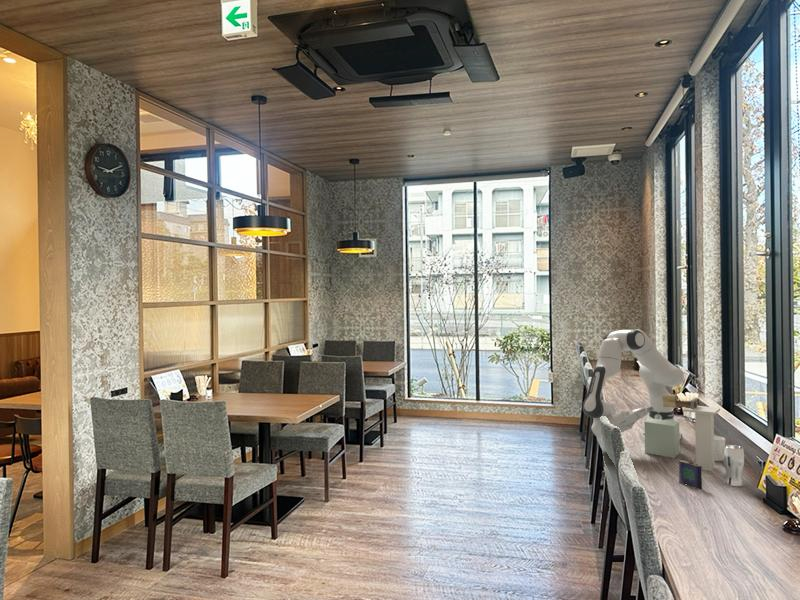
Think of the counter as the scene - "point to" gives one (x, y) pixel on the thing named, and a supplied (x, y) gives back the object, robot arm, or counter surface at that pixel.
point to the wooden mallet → (675, 401)
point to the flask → (690, 473)
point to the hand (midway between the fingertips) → (650, 409)
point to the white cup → (718, 448)
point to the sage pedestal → (662, 437)
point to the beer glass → (733, 464)
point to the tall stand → (704, 434)
